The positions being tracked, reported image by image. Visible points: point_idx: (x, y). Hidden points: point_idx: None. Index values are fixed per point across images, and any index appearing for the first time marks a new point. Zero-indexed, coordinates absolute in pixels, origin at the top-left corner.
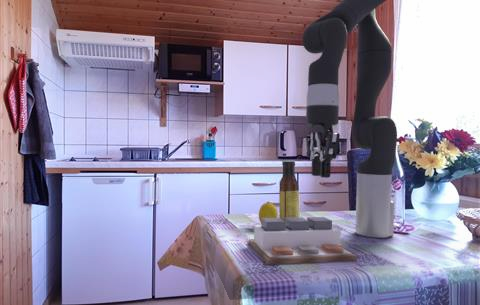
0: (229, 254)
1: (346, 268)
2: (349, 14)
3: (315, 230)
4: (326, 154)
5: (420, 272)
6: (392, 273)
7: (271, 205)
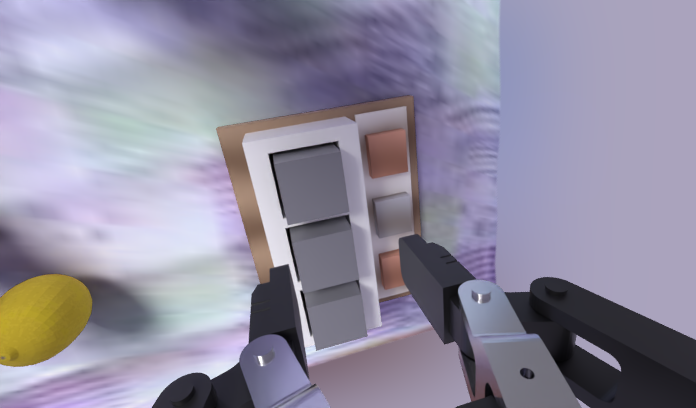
0: (358, 348)
1: (454, 140)
2: None
3: (355, 201)
4: (573, 360)
5: None
6: (494, 46)
7: (34, 335)
